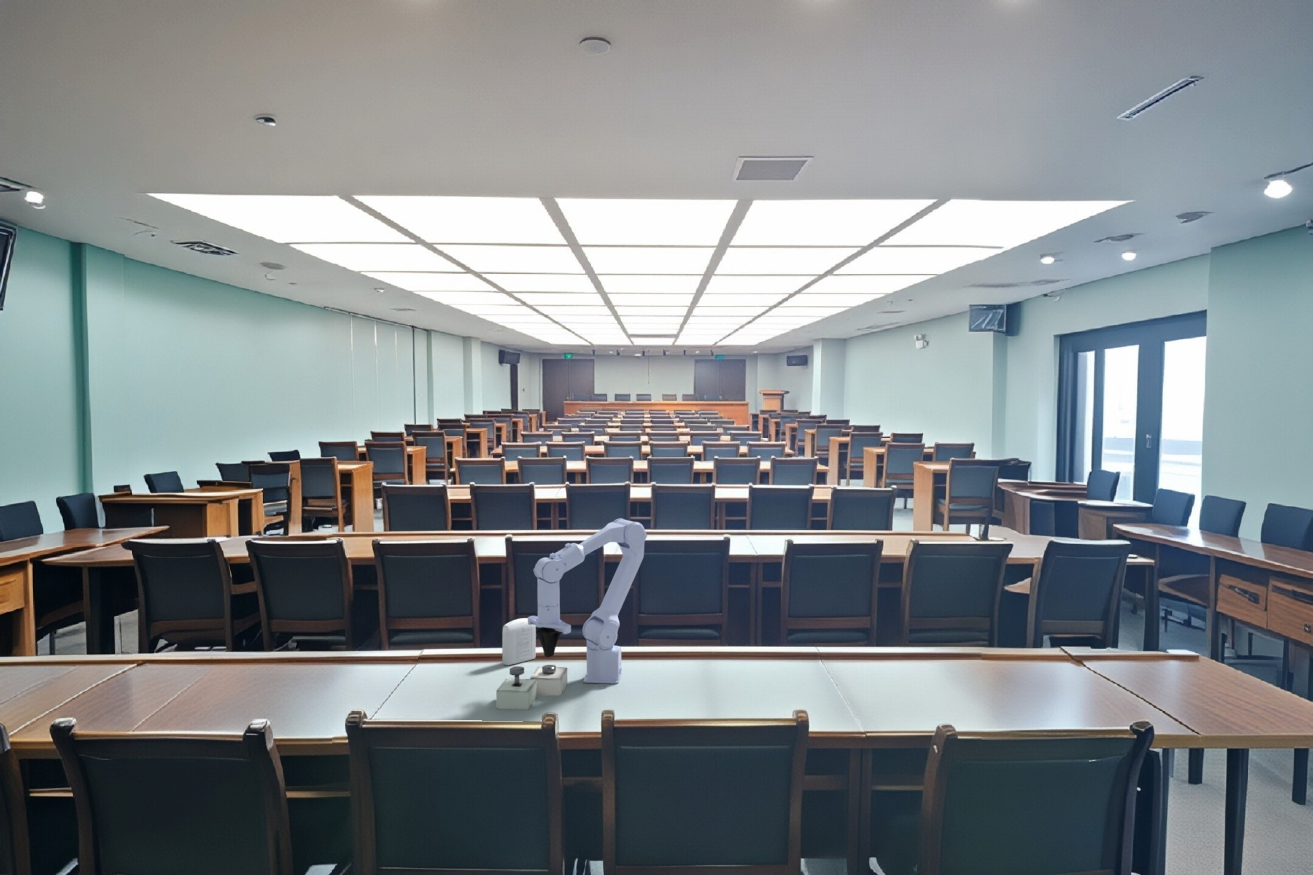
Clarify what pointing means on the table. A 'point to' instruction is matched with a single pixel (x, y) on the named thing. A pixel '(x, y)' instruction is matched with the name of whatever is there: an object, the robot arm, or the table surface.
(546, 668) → the plunger
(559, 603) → the robot arm
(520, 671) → the plunger
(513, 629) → the white rounded slab
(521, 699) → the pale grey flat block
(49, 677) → the table surface
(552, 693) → the white square block
